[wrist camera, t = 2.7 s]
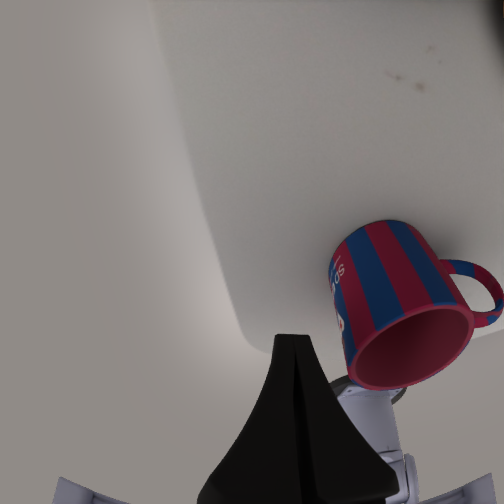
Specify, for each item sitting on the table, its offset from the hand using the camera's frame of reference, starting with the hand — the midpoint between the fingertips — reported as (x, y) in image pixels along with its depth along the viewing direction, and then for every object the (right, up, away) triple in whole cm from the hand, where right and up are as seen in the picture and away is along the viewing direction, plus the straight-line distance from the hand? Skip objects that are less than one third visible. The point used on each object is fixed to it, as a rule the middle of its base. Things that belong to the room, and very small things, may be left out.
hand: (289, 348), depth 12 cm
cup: (+8, +3, +5) cm, 10 cm away
